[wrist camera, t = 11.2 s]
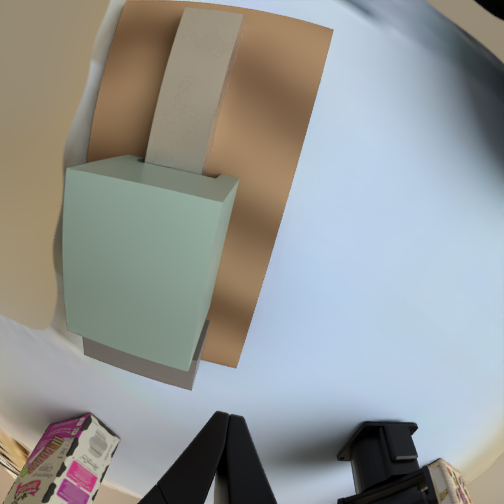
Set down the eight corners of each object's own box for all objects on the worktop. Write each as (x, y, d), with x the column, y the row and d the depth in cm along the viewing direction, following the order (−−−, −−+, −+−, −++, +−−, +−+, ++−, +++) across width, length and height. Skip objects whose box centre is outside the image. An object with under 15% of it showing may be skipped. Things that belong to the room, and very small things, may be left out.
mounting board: (237, 359, 22) (236, 368, 21) (87, 313, 21) (81, 320, 20) (330, 34, 14) (333, 29, 13) (132, 5, 13) (126, 0, 12)
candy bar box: (89, 409, 26) (27, 532, 11) (122, 438, 28) (75, 558, 12) (47, 422, 29) (-5, 513, 14) (74, 446, 30) (31, 537, 15)
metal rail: (175, 341, 20) (169, 355, 19) (134, 329, 20) (126, 341, 19) (245, 24, 13) (243, 14, 12) (192, 16, 13) (185, 7, 12)
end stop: (203, 349, 20) (191, 390, 17) (109, 320, 20) (84, 354, 16) (209, 320, 20) (197, 361, 16) (110, 291, 19) (81, 323, 16)
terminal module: (209, 306, 19) (187, 371, 14) (114, 278, 19) (67, 330, 13) (239, 178, 16) (222, 202, 11) (127, 154, 16) (66, 168, 10)
